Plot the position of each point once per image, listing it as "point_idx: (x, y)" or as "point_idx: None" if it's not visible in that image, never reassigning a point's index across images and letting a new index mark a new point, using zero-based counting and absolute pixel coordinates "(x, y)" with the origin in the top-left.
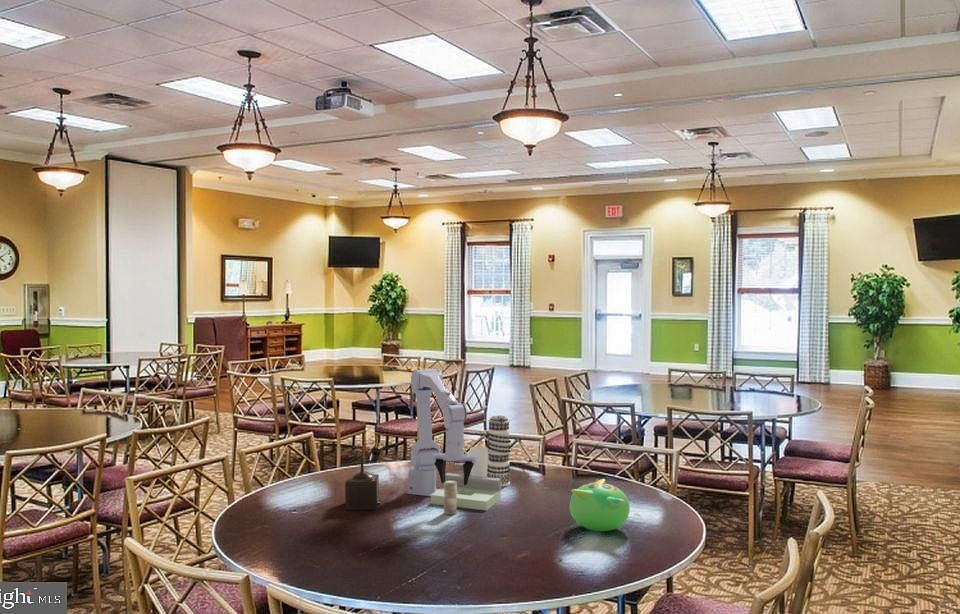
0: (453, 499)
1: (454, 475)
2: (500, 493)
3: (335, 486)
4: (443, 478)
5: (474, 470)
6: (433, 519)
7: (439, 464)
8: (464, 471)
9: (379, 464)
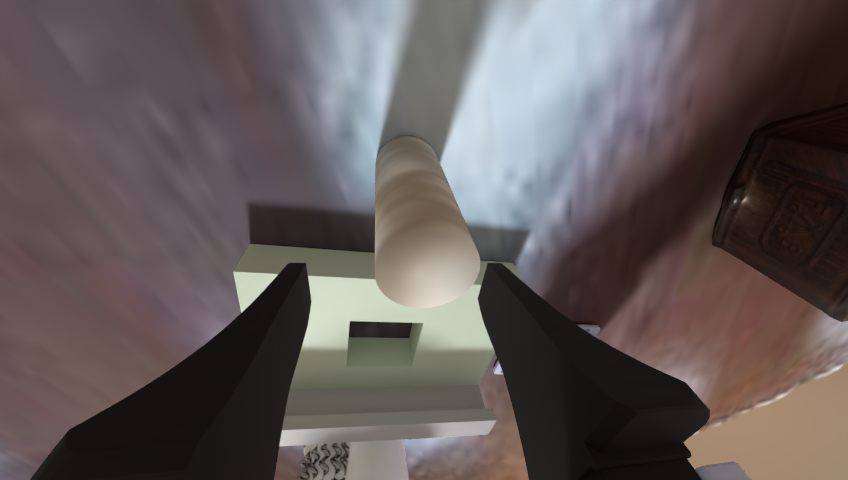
0: (386, 178)
1: (454, 425)
2: None
3: (799, 324)
4: (498, 294)
5: (386, 472)
6: (476, 37)
7: (635, 396)
8: (240, 359)
9: None
